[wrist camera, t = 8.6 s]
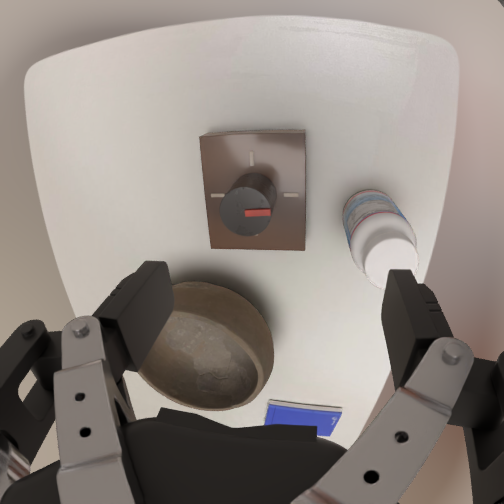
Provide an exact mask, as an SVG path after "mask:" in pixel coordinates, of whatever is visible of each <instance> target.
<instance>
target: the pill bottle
mask: <svg viewBox="0 0 504 504" xmlns="http://www.w3.org/2000/svg"><path fill="white" fill-rule="evenodd" d="M343 225H344V228H345V232H346V236H347V240H348V244H349V247H350V251H351V255H352V258H353V260H354V262H355V264H356V266H357V267H358V268H359V269H360V270H361V271H362V272H363V273H365V274H366V276H367V278H368V280H369V281H370V282H371V283H372V284H373V285H374V286H376V287H378V288H380V289H385V288H386V283H387V277H388V272H389V270H390V269H410V270H411V271H412V273H413V275H415V274H416V272H417V269H418V265H419V256H418V252H417V250H416V246H417V243H416V236H415V233H414V231H413V229H412V227H411V225H410V224H409V223H408V221H407V220H406V218H405V217H404V216H403V214H402V213H401V212H400V210H399V209H398V207H397V206H396V205H395V203H394V202H393V201H392V200H391V199H390V197H388V196H387V195H386V194H384V193H382V192H380V191H376V190H367V191H362V192H359V193H357V194H355V195H354V196H352V197H351V198H350V199H349V200H348V202H347V203H346V205H345V207H344V211H343Z"/></svg>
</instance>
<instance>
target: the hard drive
mask: <svg viewBox="0 0 504 504" xmlns="http://www.w3.org/2000/svg"><path fill="white" fill-rule="evenodd" d="M341 414H342V408H333V407H322V406H313V405H303V404H295V403H287V402H280V401H273V400H269V405H268V410H267V414H266V418H265V423H264V425H271V424H288V425H307V426H317V435H319V436H330V435H331V433H332V432H333V430H334V428H335V426H336V424H337V422H338V420H339V419H340V417H341Z"/></svg>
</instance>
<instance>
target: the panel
mask: <svg viewBox="0 0 504 504" xmlns="http://www.w3.org/2000/svg"><path fill="white" fill-rule="evenodd" d="M199 139H200V150H201V161H202V171H203V181H204V191H205V200H206V209H207V218H208V227H209V236H210V244H211V249H254V250H298V251H305V227H306V152H305V130H254V131H231V132H215V133H207V134H205V135H202V136H200V137H199ZM248 173H258V174H261V175H264V176H266V177H267V178H268V179H269V180H270V181H271V182H272V183H273V185H274V186H275V189H276V194H277V197H276V202H275V206H274V209H273V213H272V216H271V220H270V223H269V225H268V226H267V227H266V229H265V230H264V231H262V232H261V233H259V234H257V235H254V236H240V235H237V234H235V233H233V232H231V231H230V230H229V229H228V228H227V227H226V226H225V225H224V224H223V222H222V220H221V217H220V211H219V209H220V203H221V201H222V199H223V197H224V196H225V194H226V193H227V192H228V191H229V189H230V188H231V187H232V185H233V184H234V183H235V182H236V180H237V179H238V178H240V177H241V176H243V175H245V174H248Z"/></svg>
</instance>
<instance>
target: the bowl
mask: <svg viewBox="0 0 504 504" xmlns="http://www.w3.org/2000/svg"><path fill="white" fill-rule="evenodd" d="M172 289H173V293H174V300H175V302H174V309H173V312H172V313H171V315H170V317H169V319H168V320H167V322H166V324H165V326H164V327H163V329H162V331H161V332H160V334H159V336H158V338H157V339H156V341H155V343H154V345H153V346H152V348H151V350H150V352H149V353H148V355H147V357H146V359H145V361H144V362H143V364H142V366H141V368H140V369H139V371H138V374H139V375H140V376H141V377H142V378H143V379H144V380H145V381H146V382H147V383H148V384H149V385H150V386H151V387H152V388H153V389H155V390H156V391H157V392H159V393H160V394H162V395H163V396H165V397H167V398H168V399H170V400H172V401H174V402H176V403H178V404H181V405H184V406H187V407H190V408H194V409H199V410H206V411H224V410H230V409H234V408H238V407H241V406H244V405H246V404H248V403H250V402H251V401H253V400H254V399H255V398H256V397H257V395H258V394H259V393H260V392H261V390H262V389H263V387H264V386H265V384H266V383H267V381H268V379H269V377H270V374H271V372H272V369H273V363H274V348H273V340H272V336H271V333H270V330H269V328H268V326H267V324H266V322H265V320H264V319H263V317H262V316H261V314H260V313H259V312H258V311H257V309H256V308H255V307H254V306H253V305H252V304H251V303H250V302H249V301H248V300H246V299H245V298H244V297H242V296H241V295H239V294H237V293H235V292H234V291H232V290H230V289H227V288H225V287H221V286H217V285H213V284H210V283H207V282H197V281H189V282H182V283H179V284H176V285H172Z"/></svg>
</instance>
